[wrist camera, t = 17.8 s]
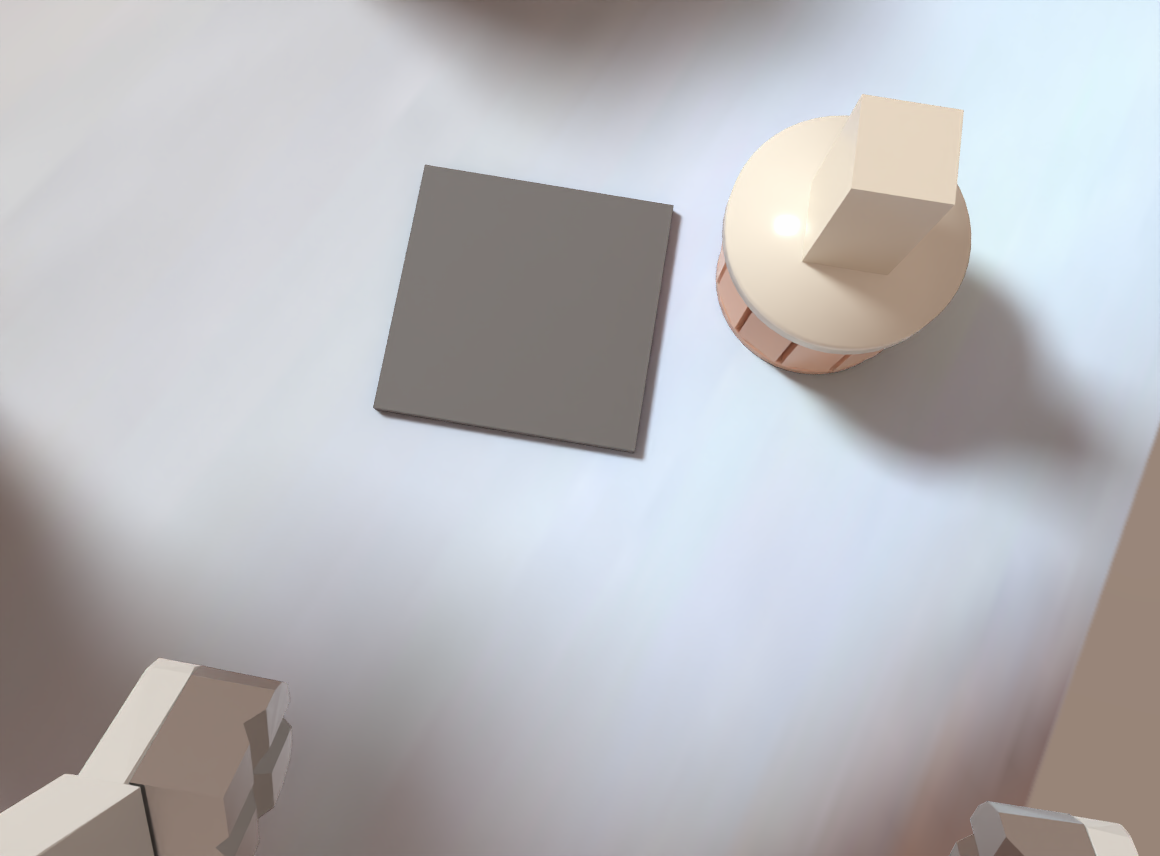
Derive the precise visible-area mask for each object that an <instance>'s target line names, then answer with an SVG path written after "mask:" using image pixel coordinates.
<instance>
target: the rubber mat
mask: <svg viewBox="0 0 1160 856" xmlns="http://www.w3.org/2000/svg"><path fill="white" fill-rule="evenodd" d="M673 206H674V205H668V204H662V203H656V202H650V201H643V200H637V199H631V198H625V197H619V196H613V195H607V194H601V193H595V192H588V191H582V190H576V189H570V188H564V187H558V186H552V185H546V184H540V183H534V182H527V181H521V180H515V179H509V178H503V177H497V176H491V175H485V174H479V173H472V172H466V171H460V170H454V169H448V168H442V167H436V166H430V165H425V167H424V172H423V177H422V181H421V186H420V191H419V195H418V200H417V205H416V209H415V214H414V219H413V223H412V228H411V233H410V237H409V242H408V247H407V252H406V256H405V261H404V266H403V270H402V275H401V280H400V284H399V289H398V294H397V298H396V303H395V308H394V312H393V317H392V322H391V326H390V331H389V336H388V340H387V345H386V350H385V354H384V359H383V364H382V369H381V373H380V378H379V383H378V387H377V392H376V397H375V401H374V406H373V407H374V409H375V410H381V411H387V412H393V413H399V414H405V415H411V416H417V417H423V418H429V419H435V420H441V421H447V422H453V423H459V424H465V425H471V426H477V427H483V428H489V429H495V430H501V431H507V432H513V433H519V434H525V435H531V436H537V437H543V438H549V439H554V440H560V441H566V442H572V443H578V444H584V445H590V446H596V447H602V448H608V449H614V450H620V451H626V452H632V453H634V452H635V446H636V440H637V434H638V427H639V421H640V415H641V408H642V402H643V396H644V389H645V383H646V377H647V370H648V364H649V358H650V351H651V345H652V339H653V332H654V326H655V320H656V313H657V307H658V301H659V294H660V288H661V282H662V275H663V269H664V263H665V256H666V250H667V244H668V237H669V231H670V225H671V218H672V212H673Z"/></svg>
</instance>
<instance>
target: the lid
mask: <svg viewBox="0 0 1160 856" xmlns="http://www.w3.org/2000/svg"><path fill="white" fill-rule="evenodd" d="M963 112H964V110H960V109H953V108H947V107H941V106H934V105H928V104H921V103H915V102H909V101H902V100H896V99H890V98H883V97H877V96H871V95H864V94H862V95H861V97H860V99H859V101H858V102H857V104H856V106H855V108H854V109H853V111H852V113H851V114H850V116H828V117H821V118H815V119H811V120H808V121H804V122H801V123H798V124H796V125H793V126H791V127H789V128H786V129H785V130H783V131H781V132H780V133H778V134H776V135H775V136H773V137H772V138H771V139H769V140H768V141H767V142H765V143H764V144H763V145H762V146H761V147H760V148H759V149H758V150H757V151H756V152H755V153H754V154H753V155H752V156H751V157H750V159H749V160H748V162H747V163H746V164H745V166H744V167H743V169H742V171H741V172H740V174H739V176H738V178H737V180H736V182H735V185H734V187H733V190H732V192H731V195H730V198H729V200H728V203H727V206H726V210H725V214H724V219H723V230H722V241H723V252H724V257H725V262H726V266H727V269H728V272H729V274H730V277H731V280H732V282H733V284H734V286H735V288H736V290H737V292H738V293H739V295H740V296H741V298H742V299H743V301H744V302H745V304H746V305H747V306H748V307H749V309H750V310H751V311H752V312H753V313H754V314H755V315H756V316H757V318H759V319H760V320H761V321H762V322H763V323H764V324H765V325H767V326H768V327H769V328H770V329H772V330H773V331H775V332H776V333H778V334H779V335H781V336H782V337H784V338H786V339H788V340H790V341H792V342H794V343H796V344H798V345H801V346H804V347H806V348H809V349H812V350H816V351H821V352H825V353H832V354H842V355H847V354H863V353H870V352H875V351H879V350H882V349H885V348H889V347H891V346H894V345H896V344H898V343H900V342H902V341H904V340H906V339H908V338H909V337H911V336H912V335H914V334H916V333H917V332H918V331H919V330H921V329H922V328H923V327H924V326H926V325H927V324H928V323H929V322H931V321H932V320H933V319H934V318H935V317H937V316H938V315H939V314H940V313H941V312H942V311H943V309H944V308H945V307H946V306H947V305H948V304H949V303H950V301H951V300H952V298H953V297H954V295H955V294H956V292H957V291H958V289H959V286H960V284H961V282H962V280H963V278H964V275H965V272H966V269H967V266H968V263H969V256H970V250H971V227H970V219H969V214H968V210H967V207H966V203H965V200H964V198H963V195H962V193H961V190H960V188H959V186H958V185H957V177H958V166H959V155H960V145H961V134H962V123H963Z"/></svg>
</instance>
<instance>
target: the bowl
mask: <svg viewBox="0 0 1160 856" xmlns="http://www.w3.org/2000/svg"><path fill="white" fill-rule="evenodd" d="M716 291H717V296H718V301H719V304H720V307H721V310H722V313H723V315H724V317H725V319H726V321H727V323H728V325H729V327H730V328H731V330H732V331H733V333H734V334H735V335H736V337H737V338H738V339H739V340H740V341H741V342H742V343H743V345H745V346H746V347H747V348H748V349H749V350H750V351H751V352H752V353H754V354H755V355H757V356H758V357H760V358H761V359H762V360H764V361H766V362H768V363H770V364H772V365H774V366H776V367H779V368H782V369H784V370H787V371H792V372H796V373H802V374H828V373H834V372H839V371H842V370H846V369H849V368H851V367H853V366H856V365H858V364H860V363H861V362H863V361H865V360H866V359H869V358H872V357H874V356H876V355H877V354H878V353H880V352H881V351H882V350H884V349H882V350H879V351H875V352H870V353H863V354H847V355H842V354H832V353H825V352H821V351H816V350H812V349H809V348H806V347H804V346H801V345H798V344H796V343H794V342H792V341H790V340H788V339H786V338H784V337H782V336H781V335H779V334H778V333H776V332H775V331H773V330H772V329H770V328H769V327H768V326H767V325H765V324H764V323H763V322H762V321H761V320H760V319H759V318H757V316H756V315H755V314H754V313H753V312H752V311H751V310H750V309H749V307H748V306H747V305H746V304H745V302H744V301H743V299H742V298H741V296H740V295H739V293H738V292H737V290H736V288H735V286H734V284H733V282H732V280H731V277H730V274H729V272H728V269H727V266H726V262H725V257H724V252H723V241H722V246H721V252H720V255H719V259H718V263H717V269H716Z"/></svg>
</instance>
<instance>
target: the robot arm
mask: <svg viewBox="0 0 1160 856" xmlns="http://www.w3.org/2000/svg"><path fill="white" fill-rule="evenodd" d="M289 703H290V696H289V687H288V683H286V682H281V681H276V680H271V679H266V678H261V677H256V676H251V675H246V674H241V673H236V672H231V671H226V670H221V669H216V668H211V667H206V666H201V665H196V664H190V663H185V662H179V661H174V660H168V659H162V658H158V659H157V660H156V661H155V662H154V663H152V664H151V665H150V666H149V667H148V668H147V669H146V670H145V671H144V673H143V674H142V676H141V678H140V679H139V681H138V682H137V684H136V685H135V687H134V688H133V690H132V692H131V693H130V695H129V696H128V698H127V699H126V701H125V703H124V704H123V706H122V707H121V709H120V710H119V712H118V714H117V715H116V717H115V718H114V720H113V721H112V723H111V725H110V726H109V728H108V729H107V731H106V732H105V734H104V735H103V737H102V739H101V740H100V742H99V743H98V745H97V746H96V748H95V750H94V751H93V753H92V754H91V756H90V757H89V759H88V761H87V762H86V764H85V765H84V767H83V768H82V770H81V771H80V773H79V775H72V774H63V775H62V776H60V777H59V778H57V779H55V780H54V781H52V782H50V783H49V784H47V785H46V786H44V787H42V788H41V789H39V790H37V791H36V792H34V793H33V794H31V795H29V796H28V797H26V798H24V799H23V800H21V801H20V802H18V803H16V804H15V805H13V806H11V807H10V808H8V809H6V810H5V811H3V812H2V813H0V856H254V854H255V851H256V849H257V847H258V844H259V830H258V818H260V817H261V816H263V815H264V814H265V813H267V812H268V811H269V810H271V809H272V808H274V806H275V804H276V801H277V799H278V796H279V794H280V791H281V789H282V787H283V784H284V780H285V776H286V773H287V769H288V765H289V762H290V756H291V747H292V727H291V726H290V725H289V723H288V722H287V721H286V720H285V719H284V718H283V717H284V714H285V712H286V710H287V708H288V705H289ZM970 821H971V825H972V829H973V832H974V834H972V835H970V836H968V837H966V838H964V839H962V840H959V841H957V842H956V844H955V846H954V848H953V849H952V851H951V853H950V855H949V856H1139V855H1138V853H1137V850H1136V848H1135V846H1134V843H1133V841H1132V839H1131V837H1130V834H1129V833H1128V832H1127V831H1126V830H1125V828H1123V826H1122V825H1121V824H1117V823H1112V822H1106V821H1100V820H1094V819H1087V818H1082V817H1075V816H1071V815H1070V814H1065V813H1059V812H1052V811H1046V810H1039V809H1033V808H1027V807H1020V806H1014V805H1008V804H1001V803H995V802H988V801H987V802H985V803H983V804H981V805H979V806H978V807H977V809H976V810H975V812H974V814H973V815H972V817H971V818H970Z"/></svg>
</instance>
